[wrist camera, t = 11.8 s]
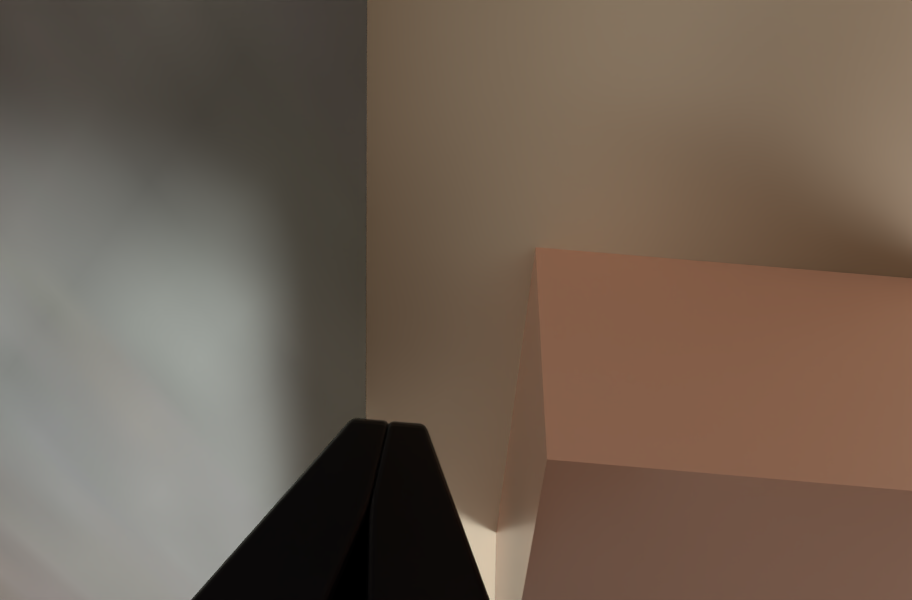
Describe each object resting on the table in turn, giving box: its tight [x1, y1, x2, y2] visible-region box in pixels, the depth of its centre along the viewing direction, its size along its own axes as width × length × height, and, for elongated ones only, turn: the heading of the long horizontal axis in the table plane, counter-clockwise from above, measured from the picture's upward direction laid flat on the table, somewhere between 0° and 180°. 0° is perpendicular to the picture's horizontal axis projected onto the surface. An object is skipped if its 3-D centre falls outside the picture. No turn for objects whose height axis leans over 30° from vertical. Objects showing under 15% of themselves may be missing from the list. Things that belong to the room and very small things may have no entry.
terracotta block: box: [495, 247, 912, 600], centre depth 8 cm, size 4×4×3 cm
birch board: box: [366, 0, 912, 600], centre depth 13 cm, size 10×19×3 cm, turn 176°
